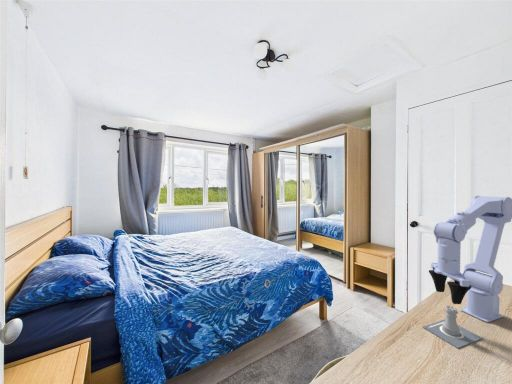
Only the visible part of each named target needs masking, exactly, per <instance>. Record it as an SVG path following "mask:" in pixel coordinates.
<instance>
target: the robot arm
mask: <svg viewBox="0 0 512 384" xmlns="http://www.w3.org/2000/svg"><path fill="white" fill-rule="evenodd" d="M477 219H480V220H482V221H483V222H484V225H483V228H482V231H481V236H480V240H479V244H478V247H477V251H476V255H475V258H474V262H469V263H467V264H465V265H464V267H463V269H462V271H461V245H462V244H461V243H462V242H463V241H464V240H465V238H466V235H467V233H468V231H469V230H470V229H471V228H473V226H475V225H476V223H477ZM510 222H512V197H509V196H506V197H502V196H480V195H475V196H473V198H471V201H470V205H469V206H468V208H466V210H464V211H457V212H456V213H454V215H452V216H450V218H448V219H447V220H446V221H440V222H438V223H436V224H435V226H434V229H433V235H434V237H435V242H436V243H437V262H431V263H430V268H431V269H430V270H428V273H429V275H430V276H431V278H432V280H433V283H434V288H435V291H436V292H437V293H445V290H446V284H447V285H448V288H449V290H450V298H451V299H450V300H451V302H452V304H453V305H462V303H463V299H464V297H465V296H466V299H465V300H466V301H465V302H466V303H465V305H466V306H465V307H462V308H460V311H461V312H463V313H465V314H468V315H470V316H473V317H474V318H476V319H478V320H481V321H483V322H485V323H489V322H492V321H494V320H495V321H496V320H497V319H501V318H504V317H503V315H502V314H500V296H499V295H500V294H501V292H503V287H504V284H503V282H504V281H503V279H504V277H503V276H504V275H502V273H501V272H500V271H499V270H497V269H496V268H495V263H496V260H497V255H498V251H499V247H500V243H501V239H502V235H503V230H504V228H505V224H507V223H510ZM448 278H449V279H450V280H453V281H447V279H448Z"/></svg>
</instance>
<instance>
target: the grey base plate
mask: <svg viewBox="0 0 512 384" xmlns="http://www.w3.org/2000/svg"><path fill="white" fill-rule="evenodd" d="M445 320H446V318H445V319H443V320H439V321H436V322H434V323H430V324H427V325H423V326H422V328H423V329H424V330H427V331H428V332H430V333H431V334H432V335H434V336H436V337H438V338H439V339H441V340H443V341H445V342H447V344H449V345H451V346H453V347H454V348H455V349H461V348H463V347H465V346H468V345H471V344H474V343H476V342H478V341H481V340H483V339H484V337H482V336H480V335H478V334H476V333H474V332H472V331H470V330H468V329H467V328H464V327H462V326H461V325H459V324H457V325H458V328H459V329H460V331H459V332H460V335H458V336H453V335H450V334H448V333H446V332H445V331H444V330H443V329H442V324H443V323H444V321H445Z"/></svg>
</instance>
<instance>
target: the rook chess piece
mask: <svg viewBox="0 0 512 384" xmlns="http://www.w3.org/2000/svg"><path fill="white" fill-rule="evenodd" d="M444 310H445V312H446V313H445V319H446V320H445V319H444V320H445V321H444V323H443V324H442V329H443V330H444V331H445V332H446V333H448V334H450V335H453V336H458V335H460V332H459V331H460V329H459V328H458V325H459V324H457V318H458V316H457V315H458V314H459V311H457V308H456V307H454V306H450V305H446V306H445V308H444Z"/></svg>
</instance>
